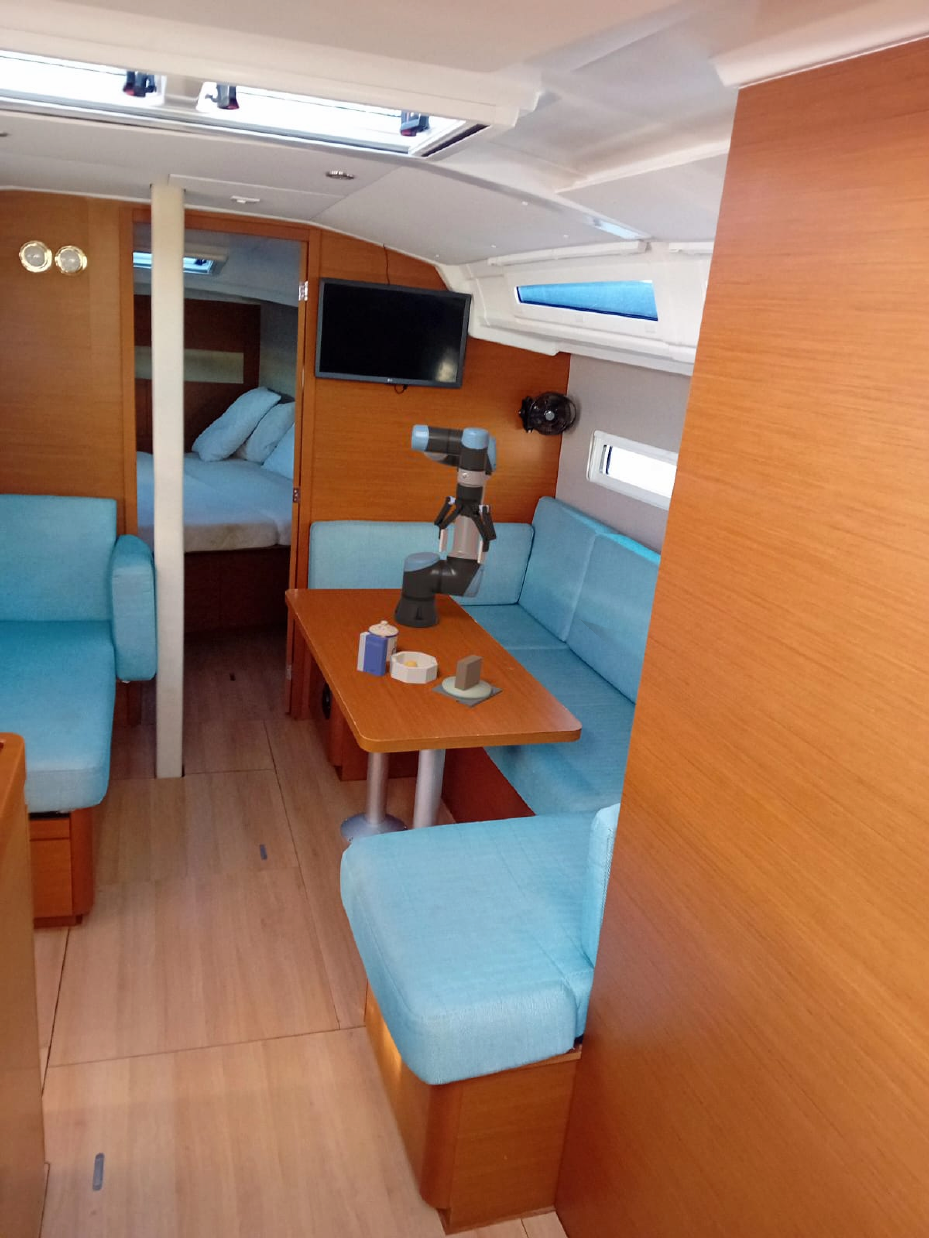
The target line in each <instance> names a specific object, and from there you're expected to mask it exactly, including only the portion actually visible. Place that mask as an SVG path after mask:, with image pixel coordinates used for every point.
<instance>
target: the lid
mask: <svg viewBox="0 0 929 1238" xmlns="http://www.w3.org/2000/svg"><path fill="white" fill-rule="evenodd" d="M482 664H483V657H482V656H479V655H476V654H471V655H469V656H467V657H464V658H462V659H460V660H457V663H456V673H455V675H452V676H450V677H446V678H444V679H443V681H442V683H441V684H442V689H443V691H444V692H446V693H447V694H449V695H451V696H454V697H457V698H461V699H468V700H477V699H483V698H486V697H488V696H489V695H490V694H491V686H492V685H491V684H490V683H489V682H487V681H485V680H484V679H481V671H482V666H483V665H482ZM490 685H491V686H490Z"/></svg>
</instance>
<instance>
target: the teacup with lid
mask: <svg viewBox="0 0 929 1238" xmlns="http://www.w3.org/2000/svg"><path fill="white" fill-rule="evenodd" d="M367 632H369V633H372V634H376V635H379V636H381V635H383V636H385V637H386V638H388V648H387V658H386V662H390V658H391V655H394V654H397V644H398V635H399V634H400V633H399V629H398V628H397V627H396V626H393V625H390V624H389V623H388V621H387V620H381V621H380V623H377V624H373V625H370V626H369V628H368V630H367Z"/></svg>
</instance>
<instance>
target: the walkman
mask: <svg viewBox="0 0 929 1238" xmlns="http://www.w3.org/2000/svg"><path fill="white" fill-rule="evenodd" d="M387 648H388V638H386V637H385V636H383V635H381V636H379V635H376V634H372V633H369V632H368V631H364V632H361V633H360V634H359V646H358V655H357V656H358V657H357V667H356V669H357V671H360V672H363V673H366V674H371V675H373V676H377V677H382V676H384V675H385V674H386V668H387V667H386V665H387V661H386V658H387Z"/></svg>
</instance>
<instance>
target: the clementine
mask: <svg viewBox="0 0 929 1238" xmlns="http://www.w3.org/2000/svg"><path fill="white" fill-rule="evenodd" d="M405 666H408V667H418V665H417V664H416V662H414V661H408V662H406V663H405Z"/></svg>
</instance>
